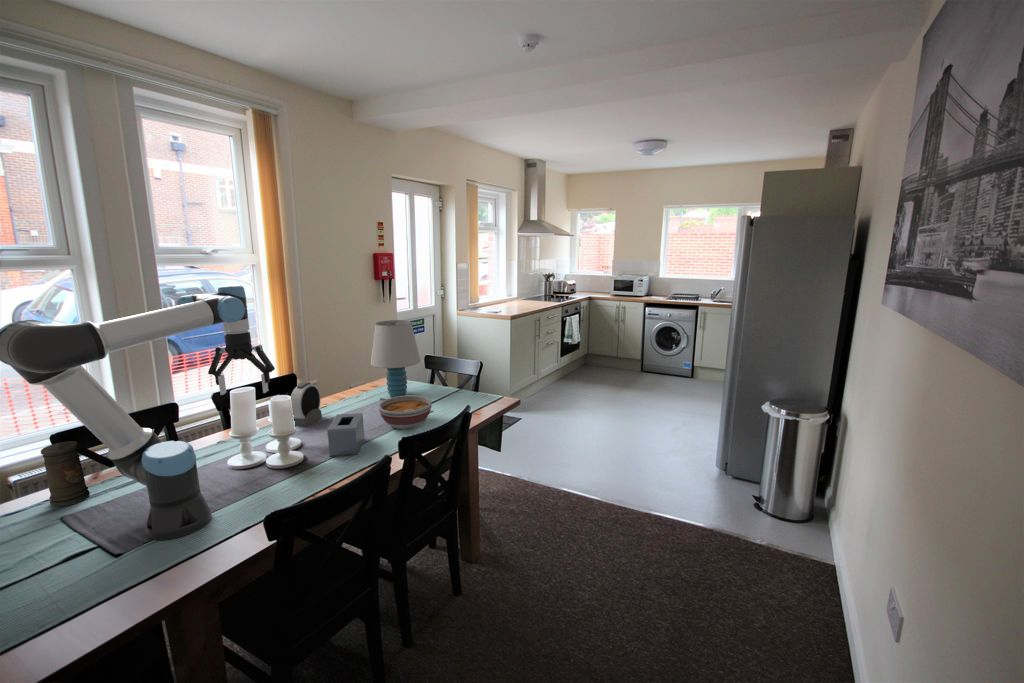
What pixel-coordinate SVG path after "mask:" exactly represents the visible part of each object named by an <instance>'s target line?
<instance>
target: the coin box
mask: <svg viewBox="0 0 1024 683" xmlns="http://www.w3.org/2000/svg"><path fill="white" fill-rule="evenodd" d="M364 427H365V426H364V415H363V412H362V413H361V412H359V413H339V414H336V415H335V417H334V418H333V420H332V421H331V423H330V424H329V426H328V428H327V430H326V431H327V439H328V451H329V458H334V457H336V458H337V457H338V458H339V457H350V456H358V454H359V452H360V450H361V447H362V445H363V443H364V441H365V430H364V429H365V428H364Z"/></svg>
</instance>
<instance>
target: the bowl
mask: <svg viewBox="0 0 1024 683" xmlns="http://www.w3.org/2000/svg"><path fill="white" fill-rule="evenodd" d="M432 405H433V404H432V400H431V399H430V398H428V397H426V396H422V395H413V394H412V395H411V394H410V395H408V394H406V395H405V396H398V397H393V398H392V397H390V398H386V399H385V400H382V401H381V402H380V403H379V404H378V411H379V414H380V416H381V418H382V419H383V421H384V422H385V423H386V424H387V425H388V426H390V427H392V428H394V429H397V430H408V429H413V428H416V427H419V426H420V425H421V424H423V423H425V421H426V420H427V418H429V416H430V413H431V410H432Z"/></svg>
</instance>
